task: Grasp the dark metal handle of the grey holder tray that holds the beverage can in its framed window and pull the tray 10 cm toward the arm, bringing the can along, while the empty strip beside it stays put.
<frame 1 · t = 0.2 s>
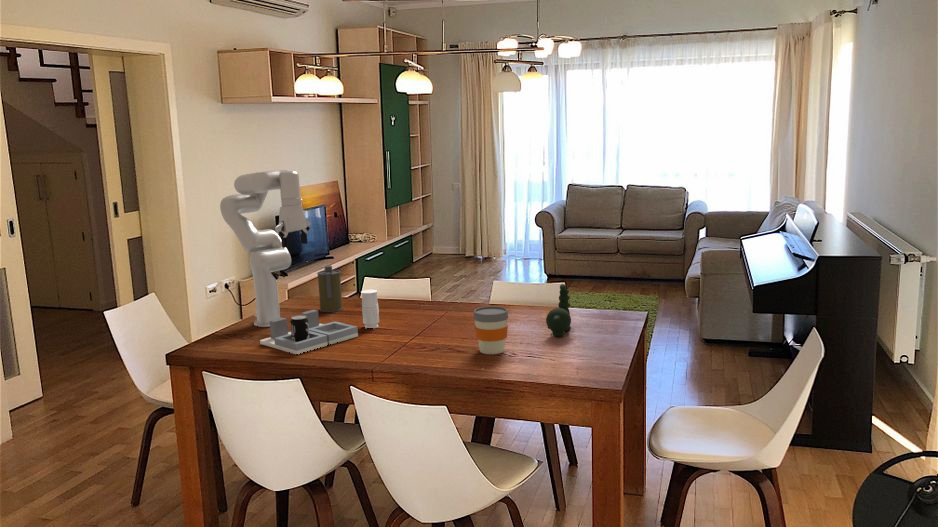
hand: (294, 245, 305), 36 cm above the table, tool pointing down, fingers open, 9 cm apart
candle: (371, 327, 317), on the table
toy figurine: (560, 333, 298), on the table
canister: (331, 309, 349), on the table
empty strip: (324, 325, 305), point 4 cm above the table, slide at 0.0 cm
reusable coffee cup: (492, 351, 279), on the table
grey holder tray: (292, 334, 294), point 4 cm above the table, slide at 0.0 cm
beverage can: (301, 347, 292), resting in grey holder tray
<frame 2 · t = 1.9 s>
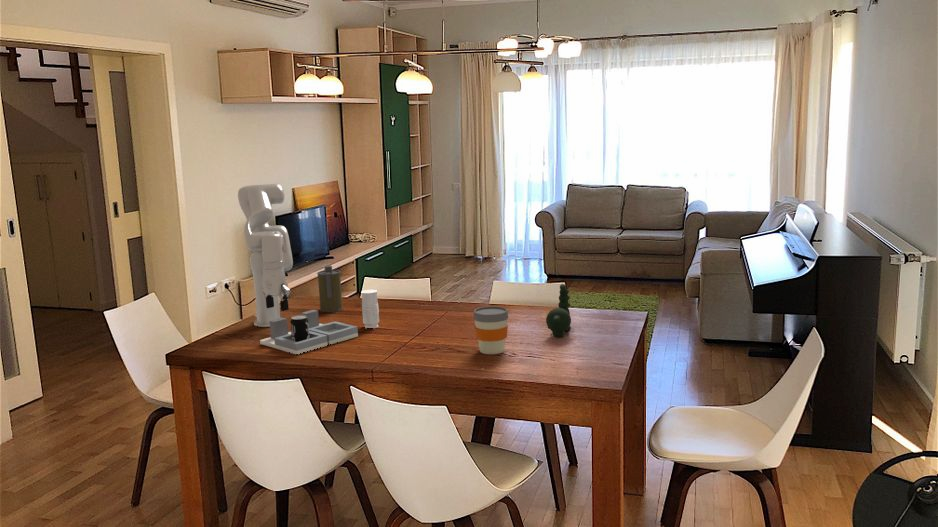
hand: (277, 308, 298), 13 cm above the table, tool pointing down, fingers open, 9 cm apart
nothing on the table moved.
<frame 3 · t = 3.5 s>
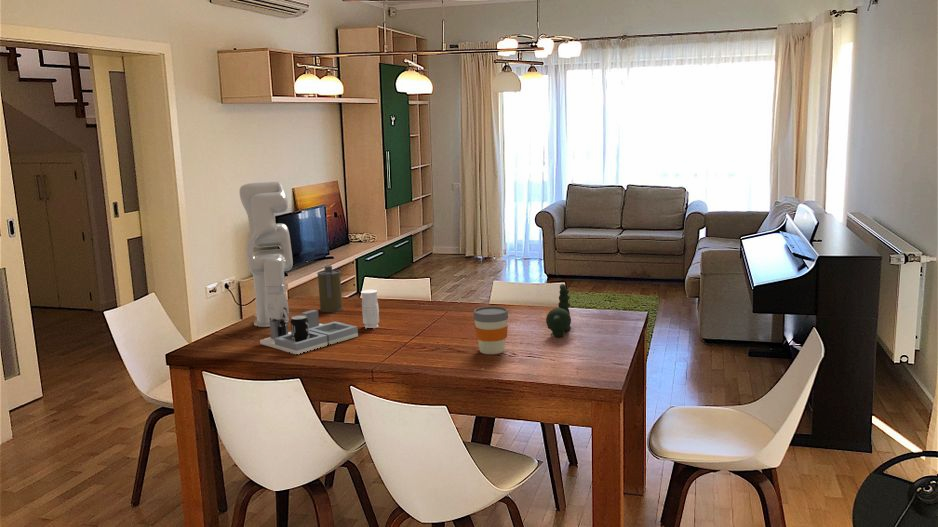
hand: (279, 334, 301), 3 cm above the table, tool pointing down, fingers closed on grey holder tray, 3 cm apart
grey holder tray: (292, 334, 294), point 4 cm above the table, slide at 0.0 cm, touching gripper
everything else where it was.
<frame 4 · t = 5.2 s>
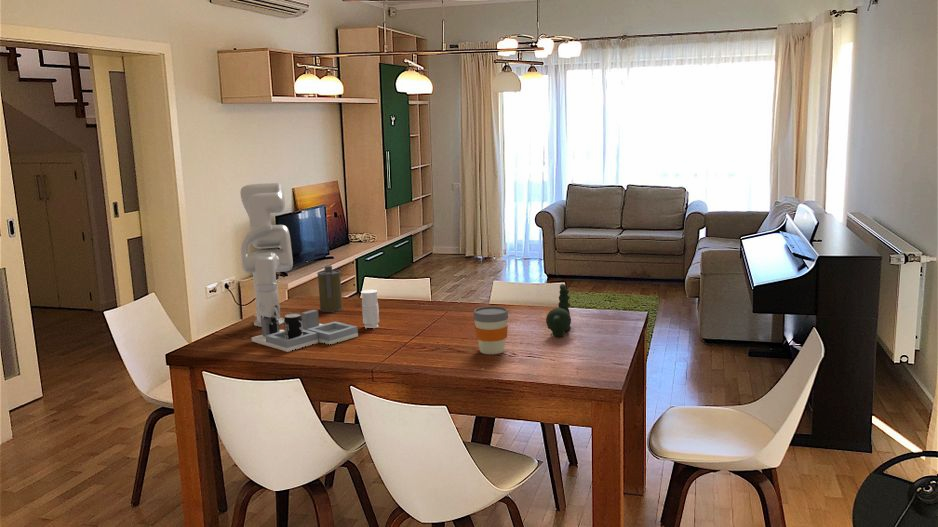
hand: (270, 332, 305), 3 cm above the table, tool pointing down, fingers closed on grey holder tray, 3 cm apart
grey holder tray: (283, 331, 298), point 4 cm above the table, slide at 5.9 cm, touching gripper
beverage can: (295, 345, 295), resting in grey holder tray
everything else where it was.
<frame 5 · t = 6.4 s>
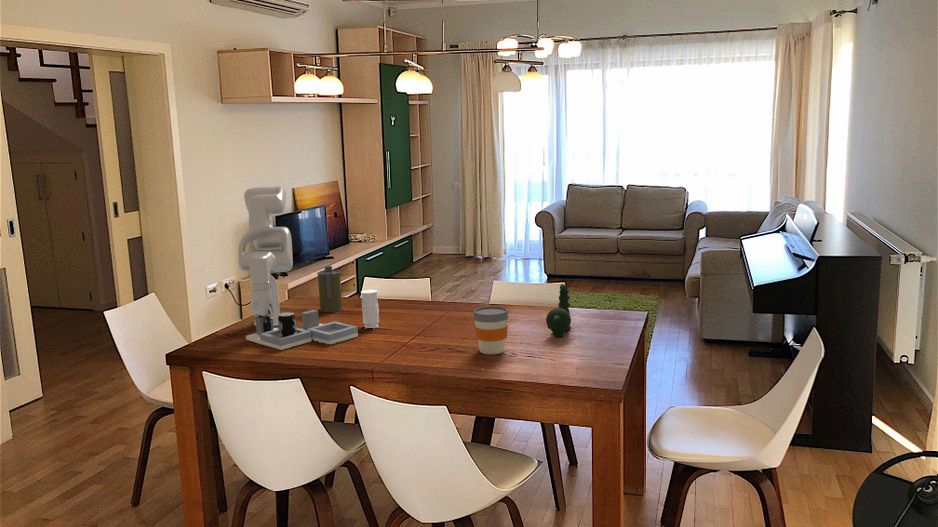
hand: (265, 330, 307), 3 cm above the table, tool pointing down, fingers closed on grey holder tray, 3 cm apart
grey holder tray: (277, 329, 301), point 4 cm above the table, slide at 10.0 cm, touching beverage can, gripper
beverage can: (288, 344, 297), resting in grey holder tray
everything else where it was.
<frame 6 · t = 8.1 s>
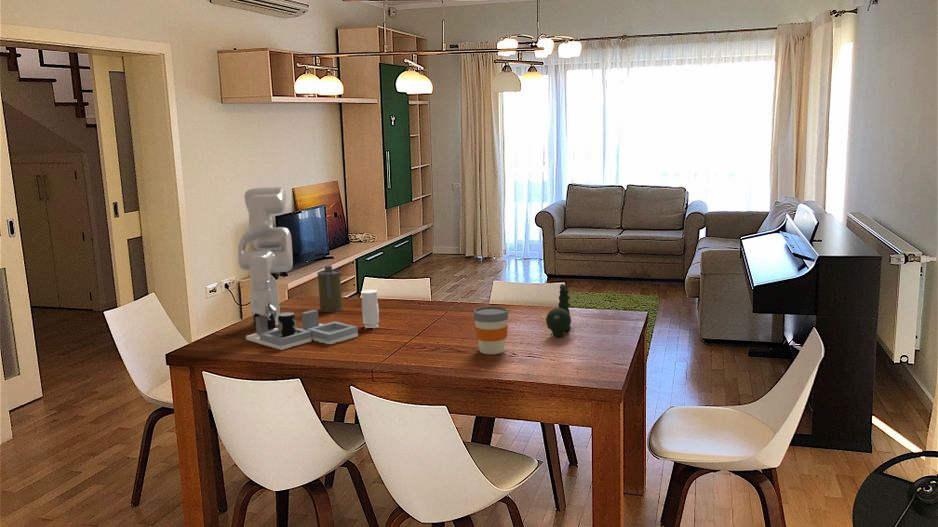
hand: (264, 326, 307), 4 cm above the table, tool pointing down, fingers open, 9 cm apart
grey holder tray: (277, 329, 301), point 4 cm above the table, slide at 10.0 cm
beverage can: (288, 344, 297), resting in grey holder tray
everything else where it was.
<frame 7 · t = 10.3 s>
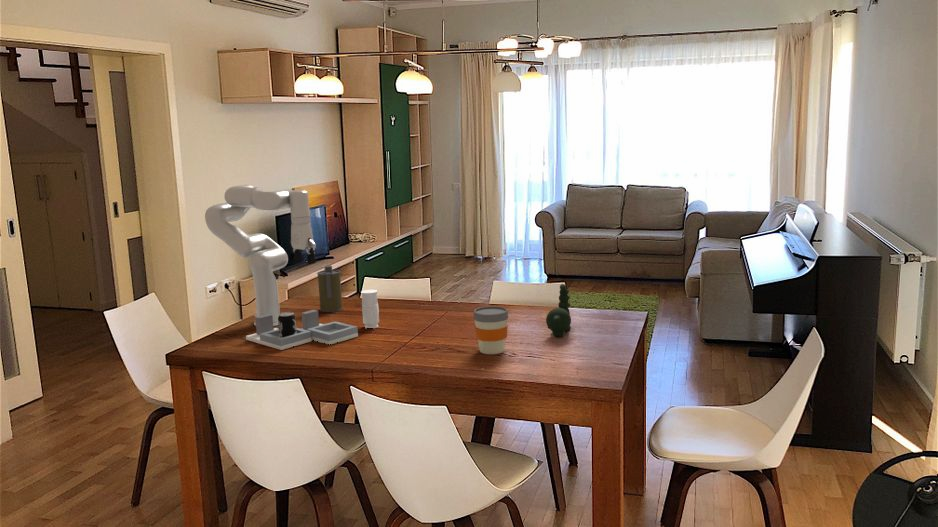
hand: (304, 262, 314), 28 cm above the table, tool pointing down, fingers open, 9 cm apart
nothing on the table moved.
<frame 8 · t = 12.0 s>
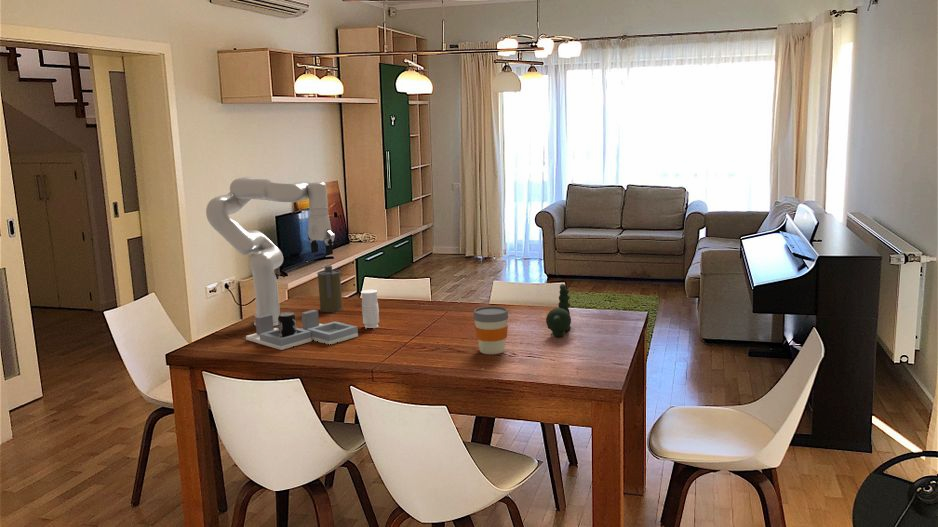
hand: (322, 253, 318), 30 cm above the table, tool pointing down, fingers open, 9 cm apart
nothing on the table moved.
at the end: grey holder tray slide at 10.0 cm; beverage can inside the target area (0.3 cm from its centre), resting in grey holder tray; beverage can tilted 0° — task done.
